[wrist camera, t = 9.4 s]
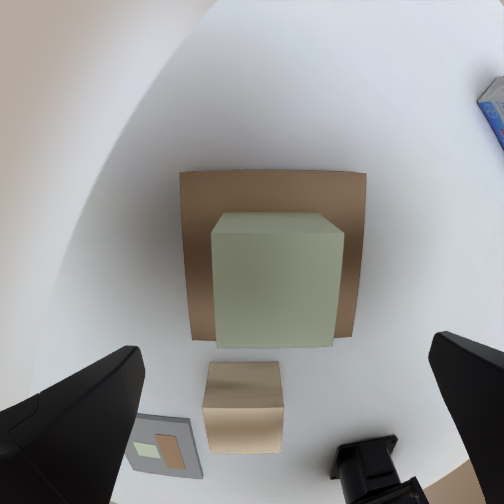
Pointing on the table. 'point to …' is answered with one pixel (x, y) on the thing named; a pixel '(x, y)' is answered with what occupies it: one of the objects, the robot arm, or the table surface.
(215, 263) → the sage cube
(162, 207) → the table surface
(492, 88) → the medicine box
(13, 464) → the robot arm
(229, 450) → the birch cube
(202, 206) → the walnut block
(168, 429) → the slate card
